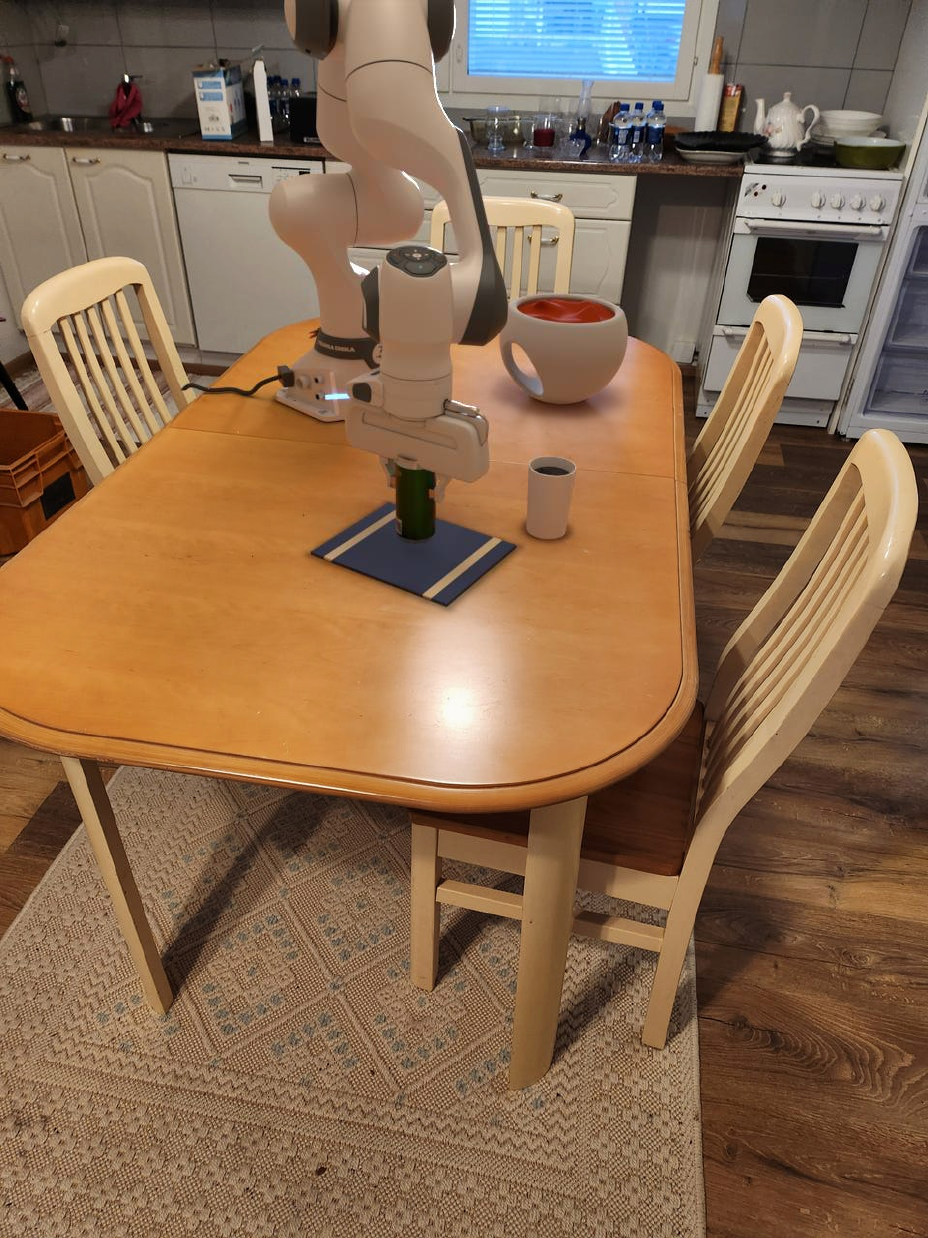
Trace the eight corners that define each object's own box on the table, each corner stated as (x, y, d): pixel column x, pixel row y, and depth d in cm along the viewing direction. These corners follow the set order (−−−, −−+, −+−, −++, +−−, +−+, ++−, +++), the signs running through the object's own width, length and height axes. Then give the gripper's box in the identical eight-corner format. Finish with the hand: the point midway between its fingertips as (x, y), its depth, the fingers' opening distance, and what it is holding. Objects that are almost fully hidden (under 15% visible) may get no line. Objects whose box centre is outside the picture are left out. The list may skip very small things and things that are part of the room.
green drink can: (408, 548, 115) (408, 465, 108) (388, 531, 118) (387, 449, 111) (442, 538, 117) (445, 456, 110) (422, 522, 121) (423, 441, 114)
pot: (616, 425, 158) (631, 327, 148) (487, 412, 161) (492, 314, 151) (620, 381, 178) (633, 291, 168) (504, 370, 181) (510, 281, 171)
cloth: (310, 554, 117) (310, 551, 117) (388, 504, 130) (388, 501, 130) (446, 606, 108) (446, 603, 108) (516, 547, 121) (516, 544, 121)
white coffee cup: (538, 544, 122) (544, 479, 116) (514, 523, 127) (519, 460, 121) (577, 535, 124) (586, 471, 119) (553, 514, 129) (559, 452, 124)
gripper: (502, 403, 104) (495, 505, 112) (366, 367, 113) (368, 465, 121) (475, 419, 100) (470, 525, 108) (335, 381, 108) (340, 481, 116)
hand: (415, 493), depth 114 cm, fingers closed on green drink can, 5 cm apart
